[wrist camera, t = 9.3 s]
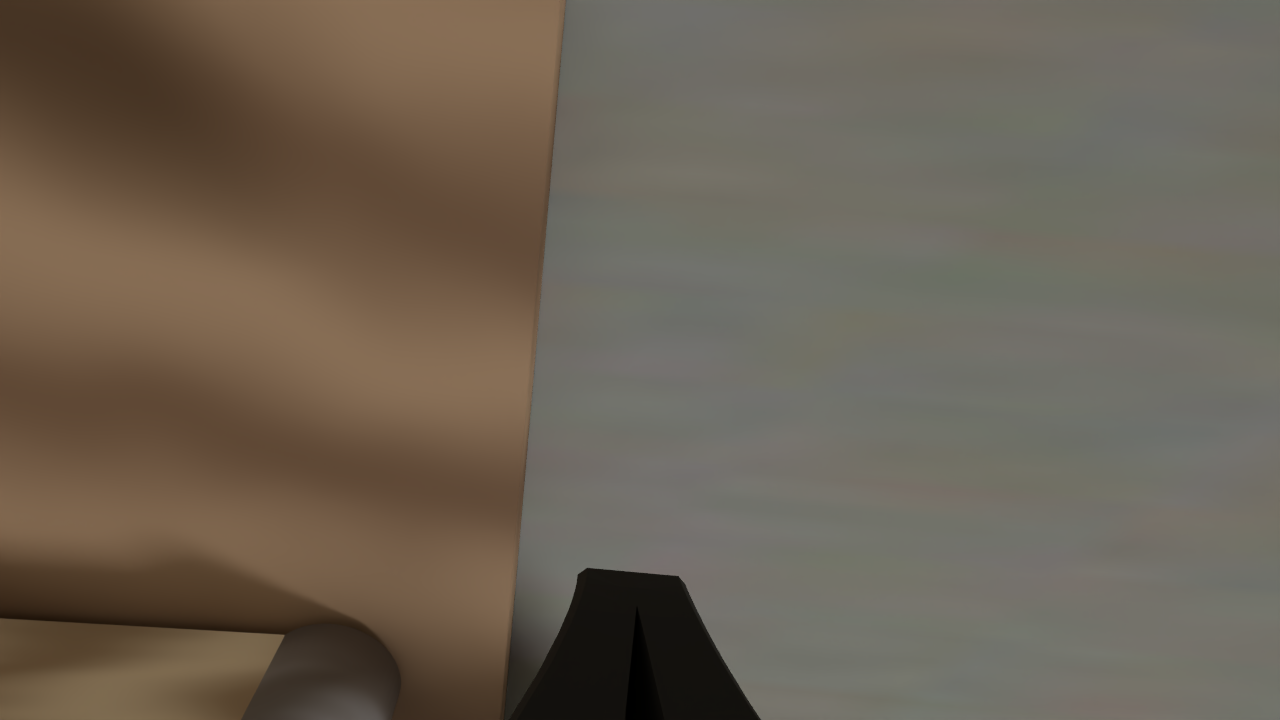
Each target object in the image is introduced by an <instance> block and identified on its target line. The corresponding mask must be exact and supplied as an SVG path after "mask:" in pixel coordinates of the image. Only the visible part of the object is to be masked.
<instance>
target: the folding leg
mask: <svg viewBox="0 0 1280 720" xmlns="http://www.w3.org/2000/svg"><path fill="white" fill-rule="evenodd" d="M400 689H401V676H400V672H399V668H398V666H397V663H396V661H395V660H394V658H393V656H392V655H391V654H390V652H389V651H388V650H387V649H386V648H385V647H384V646H383V645H382V644H381V643H380V642H379V641H377V640H376V639H375V638H373V637H371V636H370V635H368V634H366V633H364V632H362V631H360V630H357V629H354V628H351V627H348V626H343V625H338V624H312V625H308V626H303V627H300V628H297V629H295V630H293V631H291V632H289V633H287V634H286V635H279V634H261V633H244V632H227V631H210V630H192V629H175V628H158V627H141V626H124V625H106V624H89V623H72V622H55V621H37V620H20V619H3V618H0V720H391V719H392V716H393V713H394V709H395V706H396V703H397V700H398V697H399V693H400Z"/></svg>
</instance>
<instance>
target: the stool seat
mask: <svg viewBox="0 0 1280 720" xmlns="http://www.w3.org/2000/svg"><path fill="white" fill-rule="evenodd" d="M565 4H566V0H0V618H3V619H20V620H37V621H55V622H72V623H89V624H106V625H124V626H141V627H158V628H175V629H192V630H210V631H227V632H244V633H261V634H279V635H286V634H287V633H289V632H291V631H293V630H295V629H297V628H300V627H303V626H308V625H312V624H338V625H343V626H348V627H351V628H354V629H357V630H360V631H362V632H364V633H366V634H368V635H370V636H371V637H373V638H375V639H376V640H377V641H379V642H380V643H381V644H382V645H383V646H384V647H385V648H386V649H387V650H388V651H389V652H390V654H391V655H392V656H393V658H394V660H395V661H396V663H397V666H398V668H399V672H400V676H401V689H400V693H399V697H398V700H397V703H396V706H395V709H394V713H393V716H392V719H391V720H504V714H505V702H506V691H507V679H508V667H509V656H510V644H511V632H512V621H513V609H514V598H515V586H516V574H517V563H518V551H519V539H520V528H521V516H522V505H523V493H524V481H525V470H526V458H527V446H528V435H529V423H530V411H531V400H532V388H533V377H534V365H535V353H536V342H537V330H538V318H539V307H540V295H541V284H542V272H543V260H544V249H545V237H546V225H547V214H548V202H549V191H550V179H551V167H552V156H553V144H554V132H555V121H556V109H557V97H558V86H559V74H560V63H561V51H562V39H563V28H564V16H565Z"/></svg>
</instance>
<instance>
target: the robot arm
mask: <svg viewBox="0 0 1280 720" xmlns="http://www.w3.org/2000/svg"><path fill="white" fill-rule="evenodd" d="M509 720H761V719H760V718H759V716H758V715H757V713H756V712H755V710H754V709H753V707H752V706H751V704H750V703H749V701H748V700H747V698H746V697H745V695H744V693H743V692H742V690H741V688H740V687H739V685H738V683H737V682H736V680H735V678H734V677H733V675H732V674H731V672H730V670H729V669H728V667H727V665H726V664H725V662H724V660H723V659H722V657H721V655H720V653H719V651H718V650H717V648H716V646H715V644H714V642H713V641H712V639H711V637H710V635H709V633H708V631H707V629H706V627H705V626H704V624H703V622H702V620H701V618H700V616H699V614H698V612H697V610H696V607H695V605H694V603H693V601H692V599H691V597H690V595H689V592H688V590H687V588H686V585H685V584H684V582H683V581H682V580H681V579H680V578H679V576H670V575H659V574H648V573H637V572H626V571H615V570H604V569H593V568H587V569H585V570H584V571H582V572H581V573H579V574H578V577H577V585H576V589H575V592H574V596H573V599H572V602H571V605H570V608H569V610H568V613H567V615H566V617H565V620H564V622H563V624H562V627H561V629H560V631H559V633H558V635H557V637H556V639H555V641H554V643H553V645H552V647H551V649H550V651H549V653H548V655H547V657H546V659H545V661H544V663H543V665H542V666H541V668H540V670H539V672H538V674H537V675H536V677H535V679H534V680H533V682H532V684H531V685H530V687H529V688H528V690H527V692H526V693H525V695H524V696H523V698H522V700H521V701H520V703H519V705H518V706H517V708H516V709H515V711H514V713H513V714H512V716H511V717H510V719H509Z"/></svg>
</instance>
